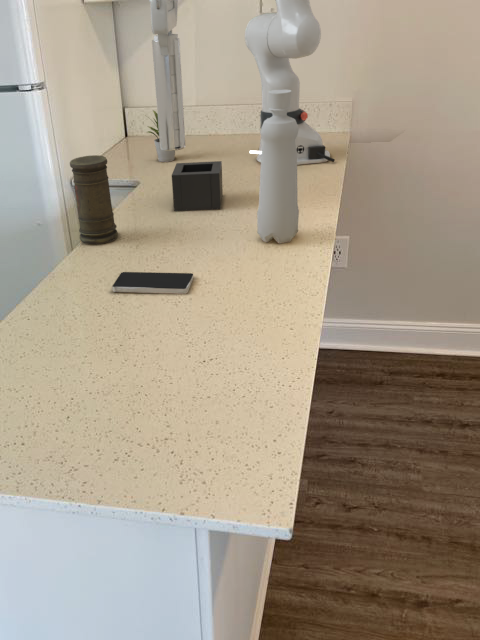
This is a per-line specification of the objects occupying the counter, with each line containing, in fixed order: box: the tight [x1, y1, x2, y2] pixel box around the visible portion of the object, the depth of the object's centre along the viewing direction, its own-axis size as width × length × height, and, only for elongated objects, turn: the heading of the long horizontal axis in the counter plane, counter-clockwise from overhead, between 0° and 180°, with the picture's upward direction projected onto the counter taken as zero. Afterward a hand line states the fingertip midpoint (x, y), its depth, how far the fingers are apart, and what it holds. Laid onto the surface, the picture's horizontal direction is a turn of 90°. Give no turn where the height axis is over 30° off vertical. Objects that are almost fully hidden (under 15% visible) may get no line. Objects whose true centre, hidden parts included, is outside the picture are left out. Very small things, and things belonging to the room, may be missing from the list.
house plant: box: [144, 107, 185, 163], centre depth 214 cm, size 14×14×16 cm
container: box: [69, 154, 119, 246], centre depth 155 cm, size 9×9×18 cm
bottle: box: [256, 90, 300, 244], centre depth 143 cm, size 9×9×30 cm
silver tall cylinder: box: [151, 33, 186, 151], centre depth 163 cm, size 6×6×25 cm
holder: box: [171, 160, 224, 212], centre depth 175 cm, size 12×12×9 cm
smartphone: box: [111, 271, 194, 295], centre depth 134 cm, size 8×1×15 cm
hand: (166, 53), depth 158 cm, fingers closed on silver tall cylinder, 6 cm apart
